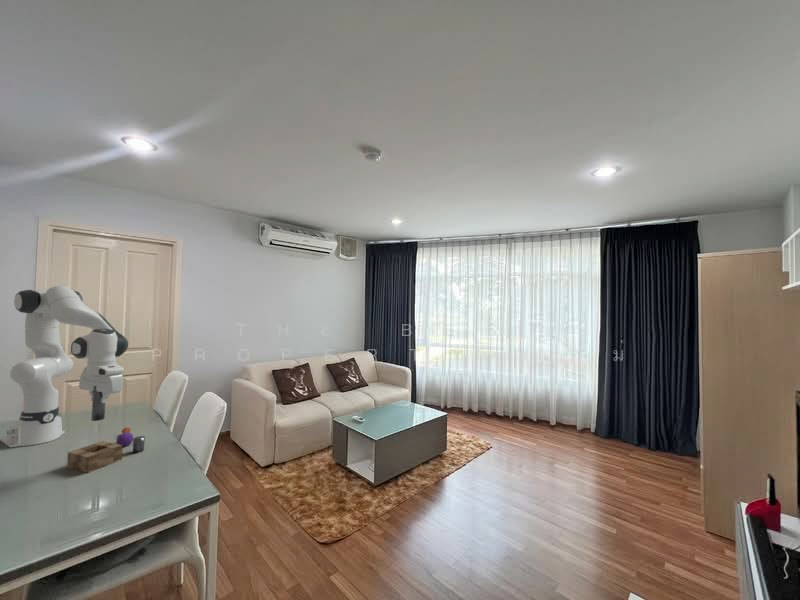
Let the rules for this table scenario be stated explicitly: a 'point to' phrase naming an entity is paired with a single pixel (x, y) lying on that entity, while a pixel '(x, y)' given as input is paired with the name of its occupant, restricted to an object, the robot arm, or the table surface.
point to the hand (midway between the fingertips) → (99, 401)
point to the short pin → (138, 444)
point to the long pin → (97, 406)
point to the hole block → (94, 456)
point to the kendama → (125, 437)
